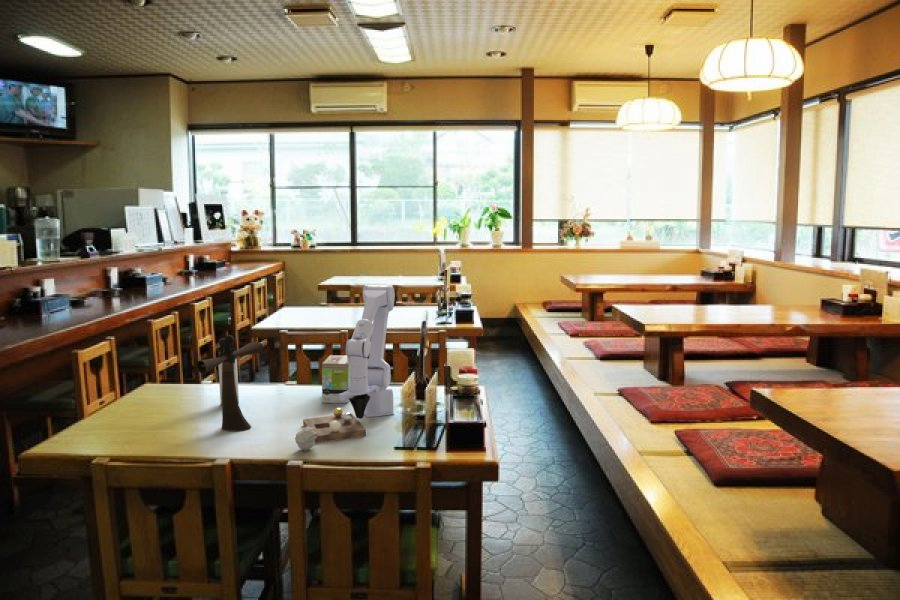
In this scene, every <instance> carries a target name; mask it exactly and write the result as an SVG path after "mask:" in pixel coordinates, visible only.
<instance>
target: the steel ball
mask: <svg viewBox="0 0 900 600" xmlns="http://www.w3.org/2000/svg"><path fill="white" fill-rule="evenodd" d="M343 414H344V415H343V421H344V422H346V423H349V422H351V421H352V419H353V416H352V414H353V413H352V414H351V412H345V413H343Z"/></svg>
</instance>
